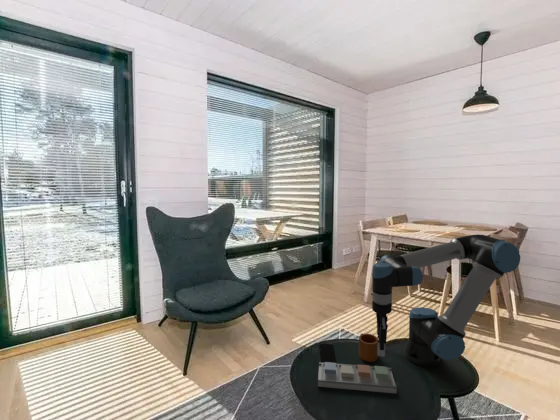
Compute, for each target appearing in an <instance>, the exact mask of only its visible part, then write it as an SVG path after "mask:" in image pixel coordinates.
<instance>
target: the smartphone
mask: <svg viewBox="0 0 560 420" xmlns="http://www.w3.org/2000/svg"><path fill="white" fill-rule="evenodd" d="M319 349H321V350H320V352H319V358H320V360H319V361H320V362H322V363H325V362H331V363H336V364H337V359H336V353H335V348H334V344H333V343H320V345H319V344H318V350H319Z"/></svg>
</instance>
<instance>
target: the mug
mask: <svg viewBox="0 0 560 420" xmlns="http://www.w3.org/2000/svg"><path fill="white" fill-rule="evenodd" d="M377 340H378V336H377V335H374V334H371V333H360V334H359V336H358V357H359V358H360V359H361V360H363V361H365V362H371V363H373V362H375V361H378V358H379V356H378V342H377Z"/></svg>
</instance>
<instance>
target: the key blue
mask: <svg viewBox="0 0 560 420" xmlns="http://www.w3.org/2000/svg"><path fill="white" fill-rule="evenodd" d="M336 364H337V362H336V363H331V362H325V368H324V373H325V374H336Z"/></svg>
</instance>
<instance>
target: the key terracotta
mask: <svg viewBox="0 0 560 420" xmlns="http://www.w3.org/2000/svg"><path fill="white" fill-rule="evenodd" d="M357 365H358V376H361V377H371V372H370V367H369V366H370V365H369V364H357Z"/></svg>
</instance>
